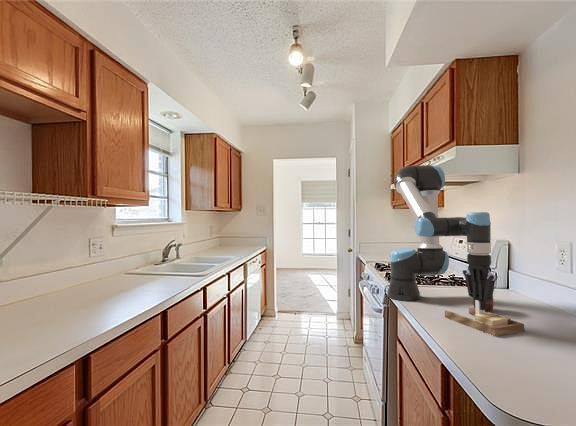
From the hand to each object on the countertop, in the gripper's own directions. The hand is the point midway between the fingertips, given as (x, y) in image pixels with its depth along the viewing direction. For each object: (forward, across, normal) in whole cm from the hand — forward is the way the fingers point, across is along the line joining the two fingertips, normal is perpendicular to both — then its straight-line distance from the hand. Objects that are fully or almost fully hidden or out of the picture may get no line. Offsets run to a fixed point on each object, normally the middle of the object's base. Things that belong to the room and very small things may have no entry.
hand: (480, 317), depth 117 cm
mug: (+2, -11, +15) cm, 19 cm away
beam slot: (+2, 0, 0) cm, 2 cm away
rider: (+2, +4, 0) cm, 5 cm away
